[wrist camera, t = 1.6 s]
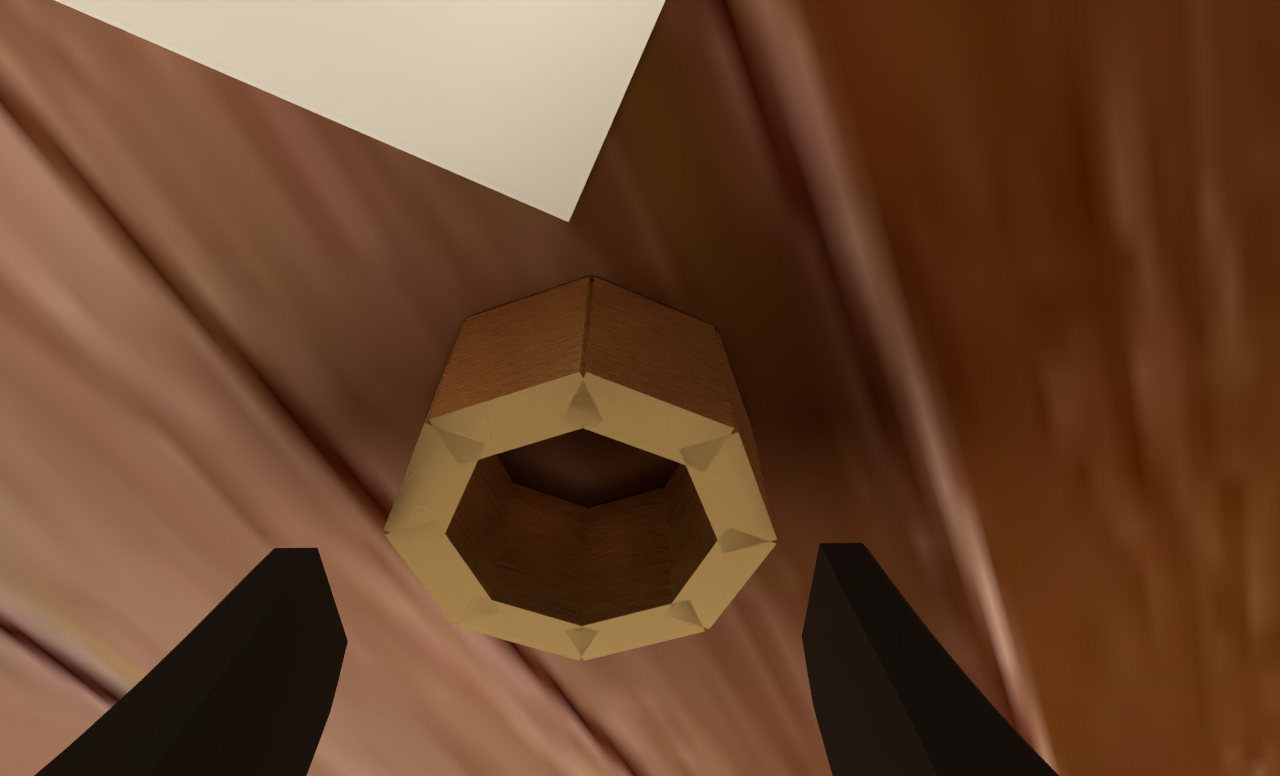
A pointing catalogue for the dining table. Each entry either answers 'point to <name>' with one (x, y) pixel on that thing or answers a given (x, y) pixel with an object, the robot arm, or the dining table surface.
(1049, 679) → the dining table surface
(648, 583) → the ring
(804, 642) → the robot arm
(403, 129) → the stub board
